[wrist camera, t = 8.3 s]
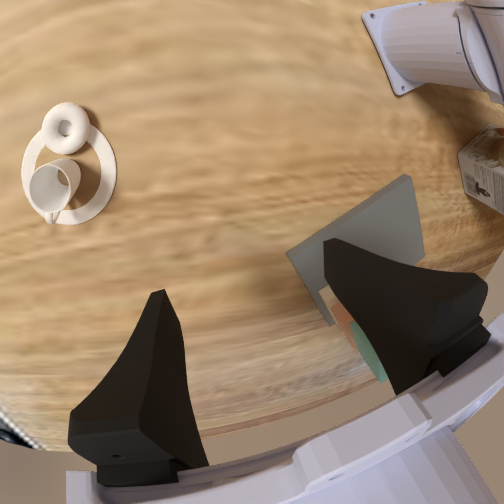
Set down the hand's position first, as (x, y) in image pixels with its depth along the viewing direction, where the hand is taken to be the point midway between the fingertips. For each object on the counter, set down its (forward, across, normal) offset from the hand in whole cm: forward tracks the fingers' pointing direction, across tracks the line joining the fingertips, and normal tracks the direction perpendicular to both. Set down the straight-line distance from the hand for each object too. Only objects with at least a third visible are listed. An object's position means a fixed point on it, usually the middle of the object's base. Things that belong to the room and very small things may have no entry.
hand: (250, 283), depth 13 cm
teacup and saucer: (+11, +7, -6) cm, 14 cm away
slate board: (+10, -13, +9) cm, 19 cm away
